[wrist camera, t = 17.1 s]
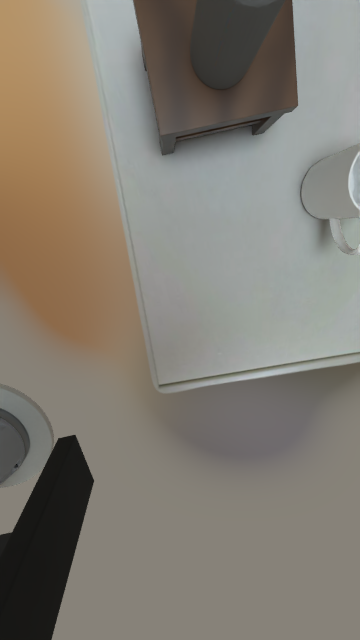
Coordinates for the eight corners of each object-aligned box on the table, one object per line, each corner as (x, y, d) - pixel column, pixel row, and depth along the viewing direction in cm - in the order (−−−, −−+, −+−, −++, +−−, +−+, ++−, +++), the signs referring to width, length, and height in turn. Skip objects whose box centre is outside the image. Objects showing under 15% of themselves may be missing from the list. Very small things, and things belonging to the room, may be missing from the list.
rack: (160, 158, 36) (160, 136, 27) (139, 54, 32) (132, -9, 24) (265, 135, 36) (298, 105, 27) (256, 28, 32) (289, -44, 24)
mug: (304, 157, 37) (356, 130, 27) (360, 157, 37) (432, 131, 27) (292, 250, 41) (335, 257, 31) (344, 249, 41) (402, 256, 31)
